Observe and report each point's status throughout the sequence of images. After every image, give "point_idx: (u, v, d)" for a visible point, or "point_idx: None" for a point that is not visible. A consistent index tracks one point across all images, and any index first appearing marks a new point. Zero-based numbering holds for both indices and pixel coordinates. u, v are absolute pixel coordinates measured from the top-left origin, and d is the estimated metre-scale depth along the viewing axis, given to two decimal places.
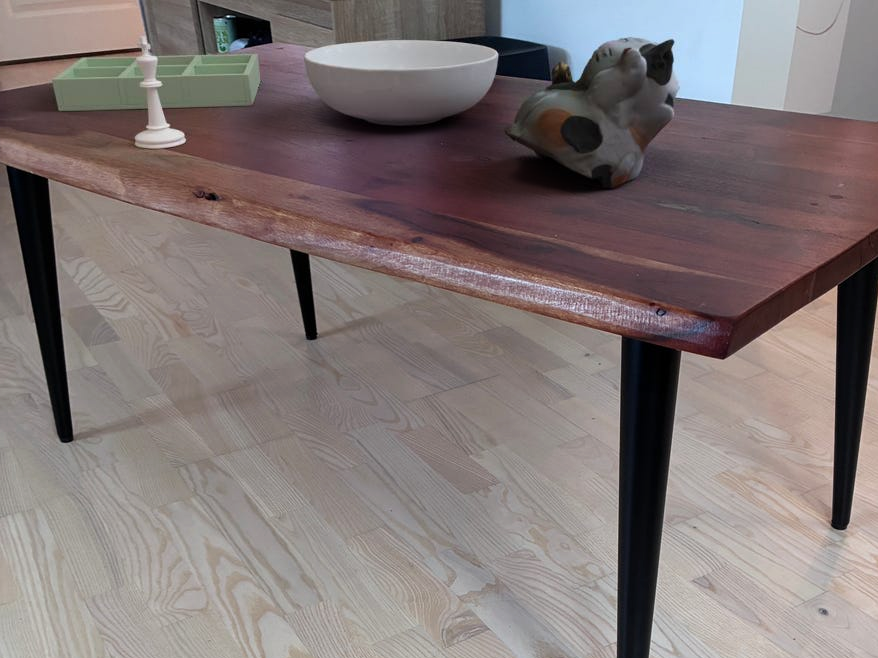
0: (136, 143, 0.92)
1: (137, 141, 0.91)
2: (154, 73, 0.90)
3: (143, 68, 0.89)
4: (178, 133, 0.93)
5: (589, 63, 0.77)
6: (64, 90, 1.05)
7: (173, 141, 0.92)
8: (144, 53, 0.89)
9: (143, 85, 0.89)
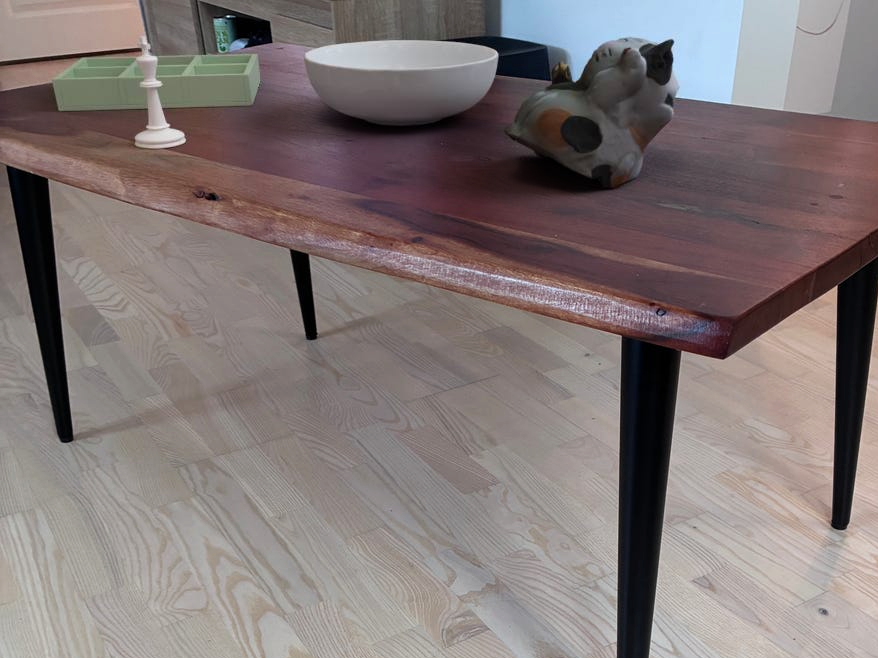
0: (136, 143, 0.92)
1: (137, 141, 0.91)
2: (154, 73, 0.90)
3: (143, 68, 0.89)
4: (178, 133, 0.93)
5: (589, 63, 0.78)
6: (64, 90, 1.05)
7: (173, 141, 0.92)
8: (144, 53, 0.89)
9: (143, 85, 0.89)
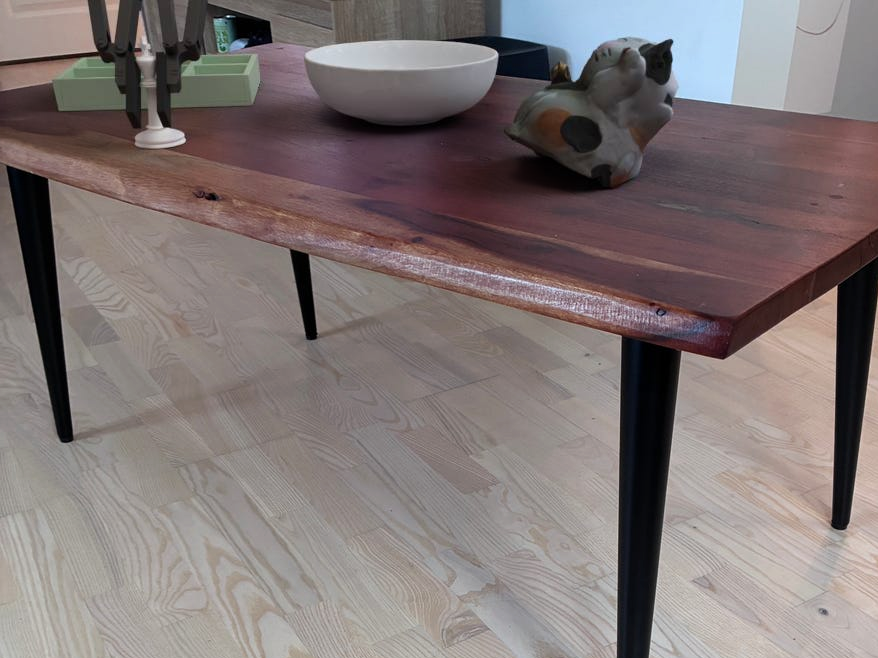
0: (136, 143, 0.92)
1: (137, 141, 0.91)
2: (154, 73, 0.90)
3: (143, 68, 0.89)
4: (178, 133, 0.93)
5: (588, 63, 0.78)
6: (64, 90, 1.05)
7: (173, 141, 0.92)
8: (144, 53, 0.89)
9: (143, 85, 0.89)
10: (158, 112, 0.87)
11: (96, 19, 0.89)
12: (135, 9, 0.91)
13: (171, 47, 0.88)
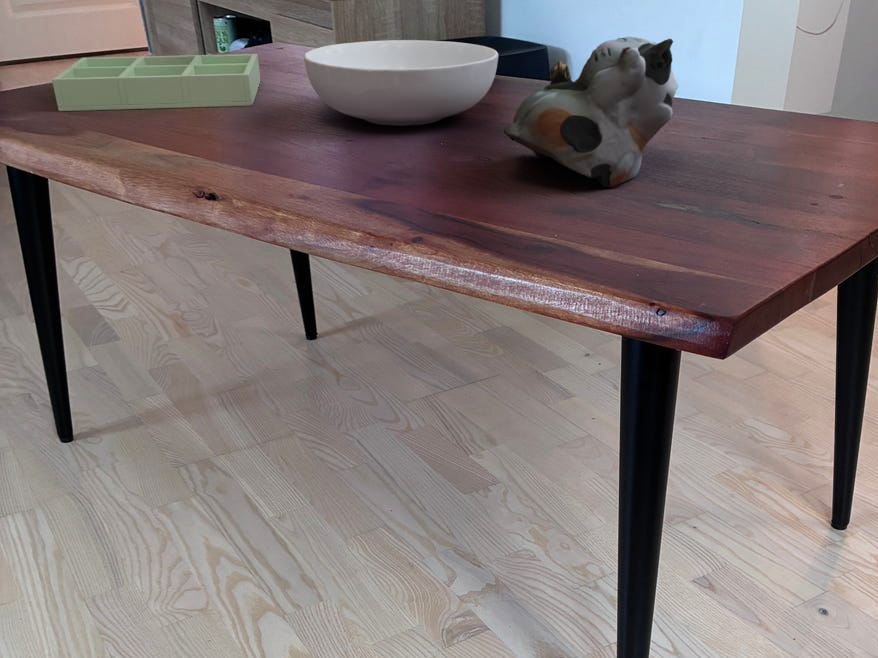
0: None
1: None
2: None
3: None
4: None
5: (588, 63, 0.78)
6: (64, 90, 1.05)
7: None
8: None
9: None
10: None
11: None
12: None
13: None
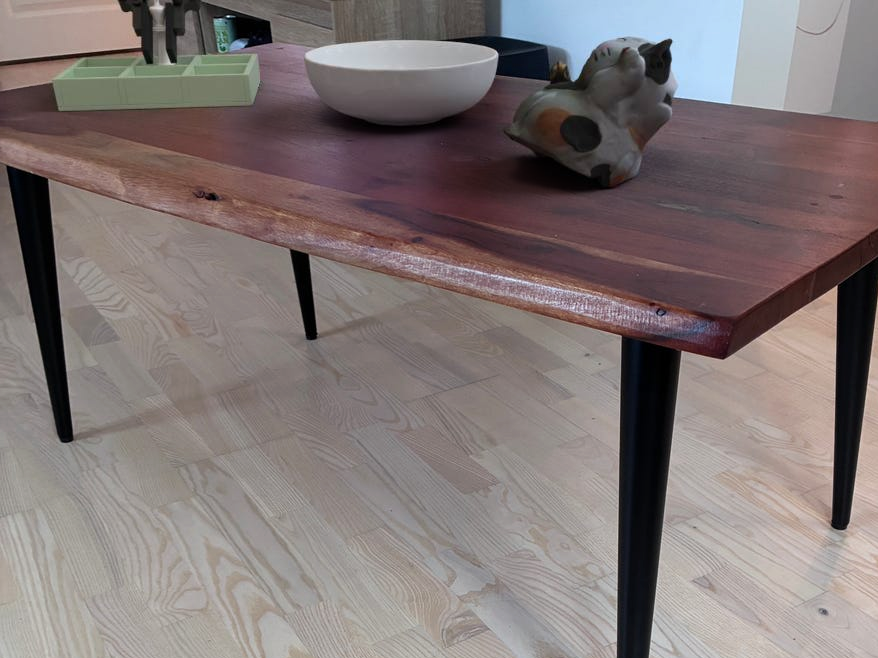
0: None
1: None
2: (164, 19, 1.12)
3: (155, 15, 1.11)
4: None
5: (587, 62, 0.78)
6: (64, 90, 1.05)
7: None
8: (155, 3, 1.11)
9: (154, 29, 1.12)
10: (167, 49, 1.10)
11: None
12: None
13: None
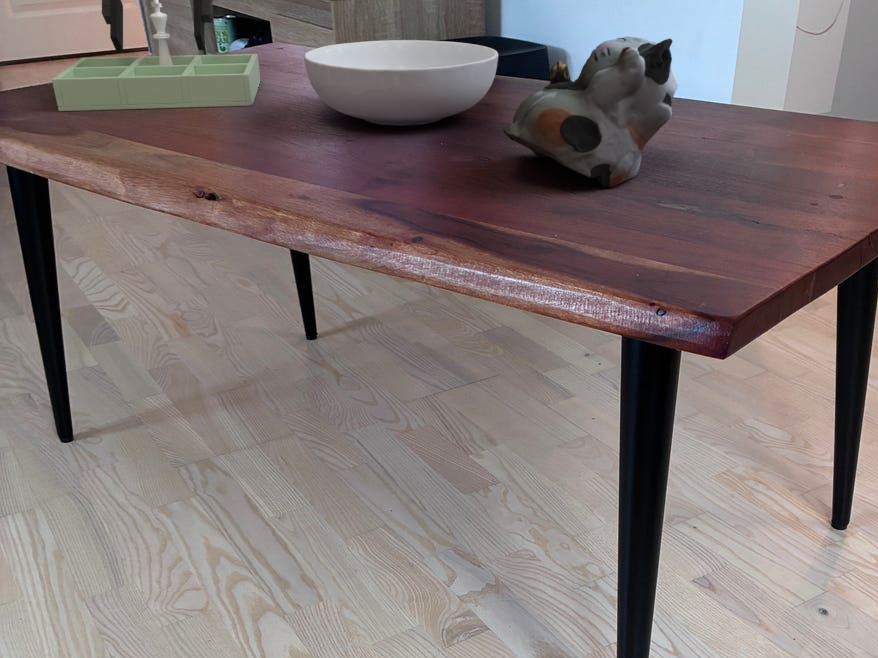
0: None
1: None
2: (165, 27, 1.12)
3: (155, 23, 1.12)
4: None
5: (587, 63, 0.78)
6: (64, 90, 1.05)
7: None
8: (156, 11, 1.12)
9: (155, 36, 1.12)
10: (195, 36, 1.10)
11: None
12: None
13: None
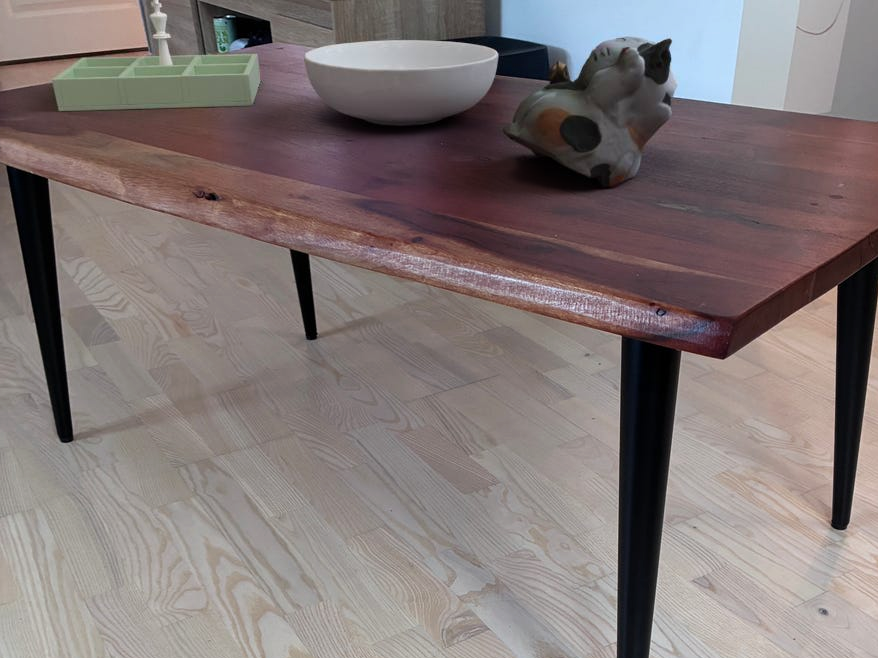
0: None
1: None
2: (164, 27, 1.12)
3: (155, 23, 1.12)
4: None
5: (587, 62, 0.78)
6: (64, 90, 1.05)
7: None
8: (156, 11, 1.12)
9: (155, 36, 1.12)
10: None
11: None
12: None
13: None
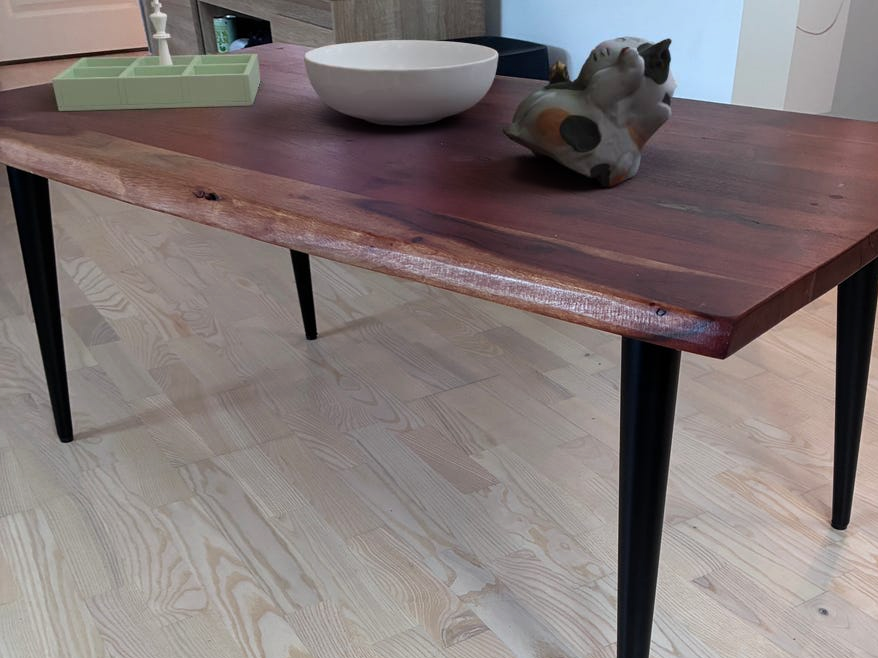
0: None
1: None
2: (164, 27, 1.12)
3: (155, 23, 1.12)
4: None
5: (587, 62, 0.78)
6: (64, 90, 1.05)
7: None
8: (156, 11, 1.12)
9: (155, 36, 1.12)
10: None
11: None
12: None
13: None
